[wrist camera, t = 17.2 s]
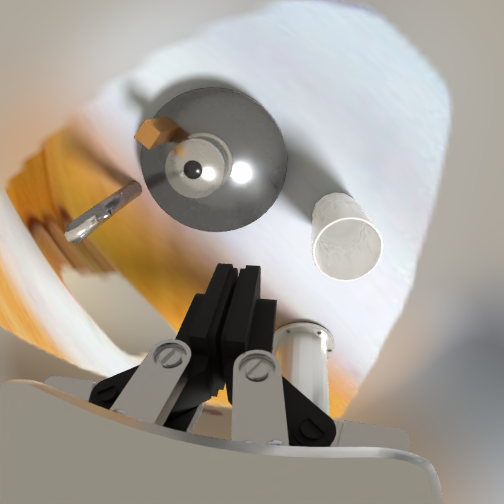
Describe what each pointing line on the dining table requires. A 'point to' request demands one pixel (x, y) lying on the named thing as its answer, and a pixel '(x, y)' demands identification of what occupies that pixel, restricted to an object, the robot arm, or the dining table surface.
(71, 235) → the dial post
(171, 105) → the turntable
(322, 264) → the white cup
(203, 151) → the cover
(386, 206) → the dining table surface
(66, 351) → the dining table surface
